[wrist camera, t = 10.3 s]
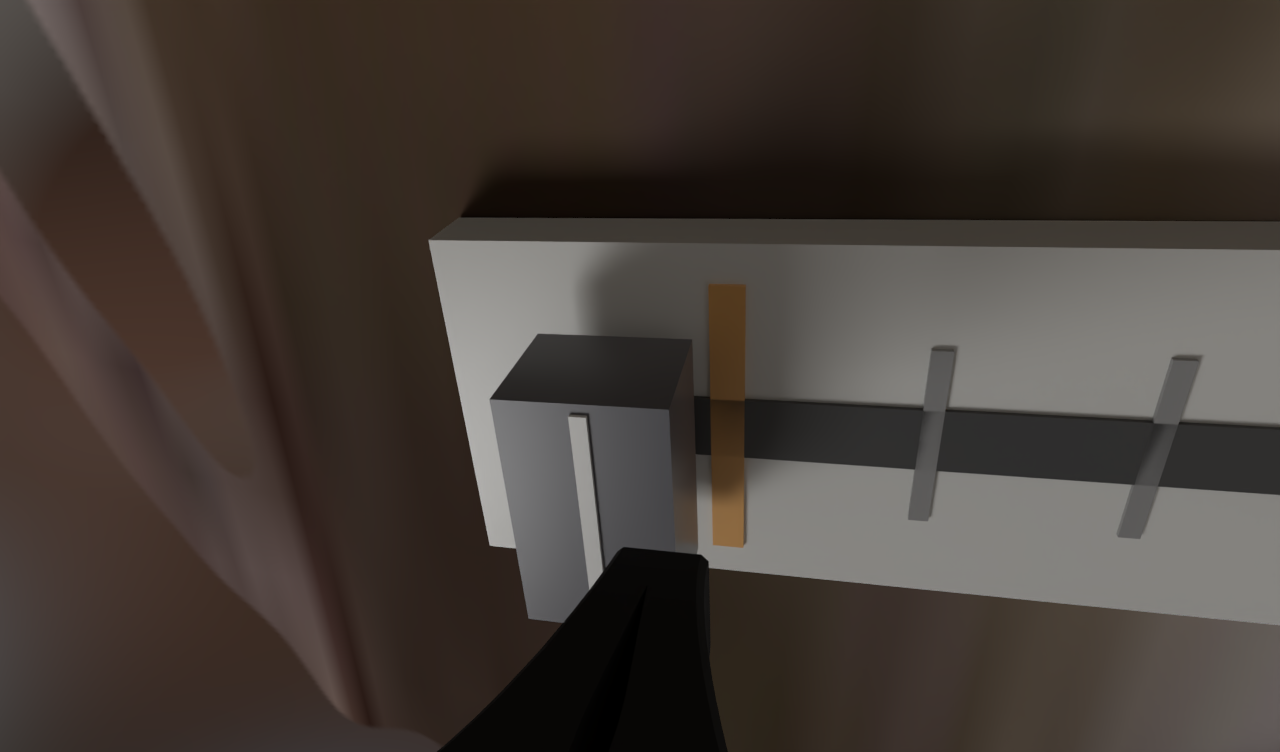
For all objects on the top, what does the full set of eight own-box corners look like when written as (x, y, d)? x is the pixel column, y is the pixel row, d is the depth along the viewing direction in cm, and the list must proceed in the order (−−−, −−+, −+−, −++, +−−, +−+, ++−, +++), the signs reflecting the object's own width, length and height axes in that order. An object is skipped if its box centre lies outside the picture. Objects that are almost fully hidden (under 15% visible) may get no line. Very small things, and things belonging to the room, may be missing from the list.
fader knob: (699, 318, 15) (668, 412, 12) (704, 520, 17) (679, 639, 14) (551, 314, 15) (488, 401, 12) (576, 509, 18) (527, 621, 15)
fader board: (1595, 222, 12) (1691, 257, 11) (1391, 586, 16) (1444, 645, 15) (459, 217, 17) (426, 241, 15) (510, 508, 20) (488, 548, 19)
